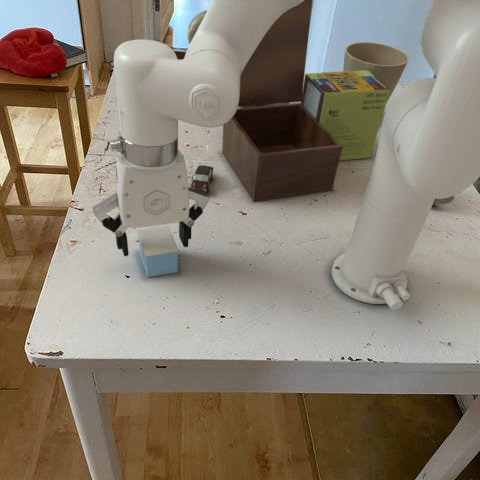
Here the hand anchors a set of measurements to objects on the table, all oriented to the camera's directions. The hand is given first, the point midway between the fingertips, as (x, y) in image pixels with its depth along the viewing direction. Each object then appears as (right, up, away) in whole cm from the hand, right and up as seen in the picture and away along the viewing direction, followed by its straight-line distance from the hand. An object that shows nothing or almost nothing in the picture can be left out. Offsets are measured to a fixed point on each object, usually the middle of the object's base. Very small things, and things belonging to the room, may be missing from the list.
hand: (154, 246), depth 76 cm
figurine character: (+49, +14, +23) cm, 56 cm away
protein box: (+35, +28, +34) cm, 56 cm away
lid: (+19, +42, +17) cm, 49 cm away
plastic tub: (0, -2, +3) cm, 4 cm away
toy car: (+6, +17, +21) cm, 28 cm away
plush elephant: (+12, +45, +47) cm, 66 cm away
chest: (+21, +20, +26) cm, 39 cm away
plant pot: (+45, +40, +47) cm, 76 cm away
